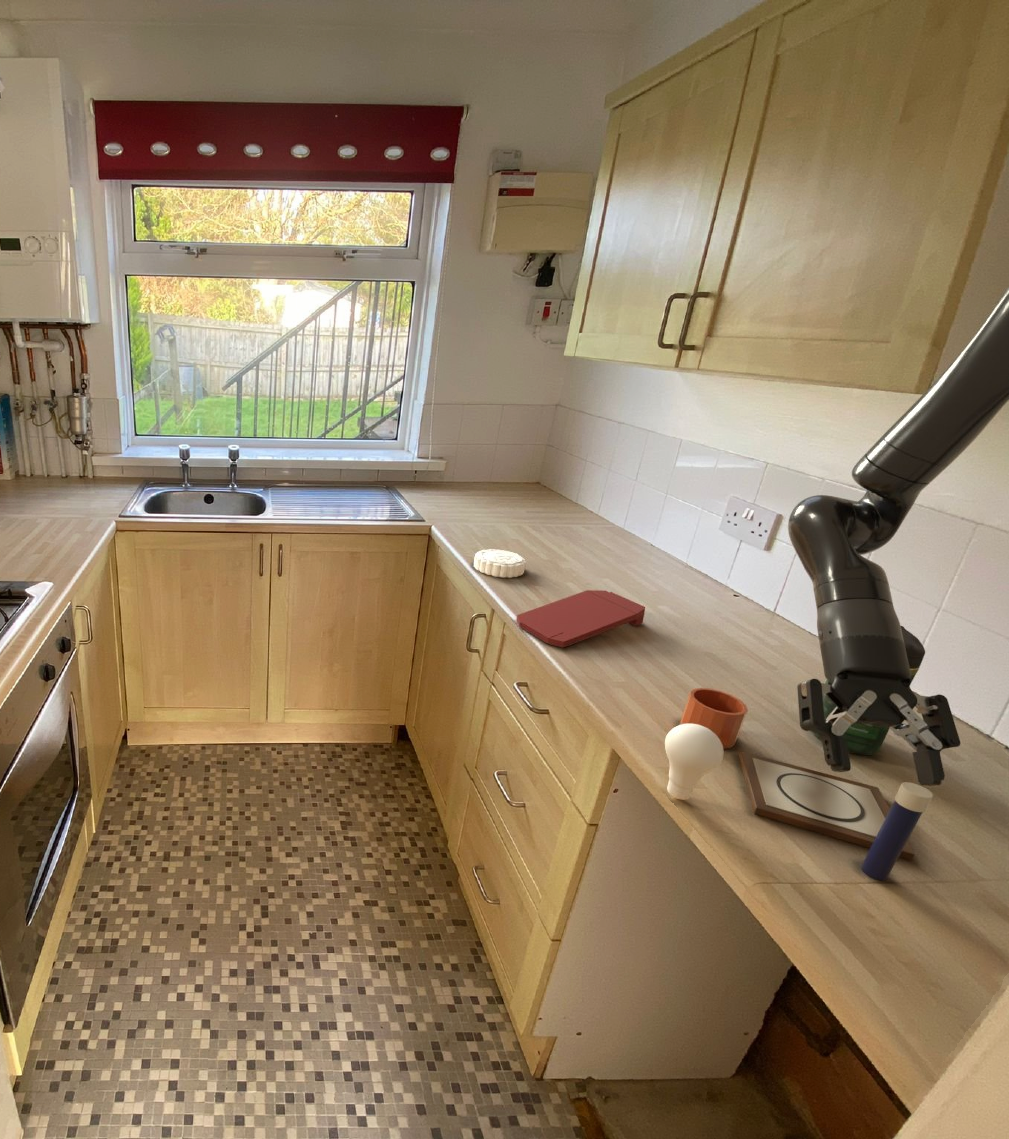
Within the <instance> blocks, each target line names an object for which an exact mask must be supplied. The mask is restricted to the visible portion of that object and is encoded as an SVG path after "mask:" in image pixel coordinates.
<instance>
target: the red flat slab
mask: <svg viewBox="0 0 1009 1139" xmlns="http://www.w3.org/2000/svg"><path fill="white" fill-rule="evenodd" d="M645 610H646V606H644V605H642V604H639V603H637V602H635V601H632V600H630V599H628V598H626V597H624V596H622V595H619V594H617V593H614V592H612V591H607V590H601V589H600V590H599V589H596V590H593V589H592V590H588V589H586V590H583V591H581V592H578V593H576V594H575V593H574V594H572V595H569V596H567V597H564V598H561V599H558V600H556V601H552V602H550V603H547V604H545V605H542V606H538V607H535V608H533V609H531V610H528V611H525V612H522V613H520V614H517V615H516V622H517V625H518V627H519V628H520V629H522V630H523V631H525V632H527V633H529V634H531V635H532V636H534V637H536V638H537V639H539V640H541V641H542V642H544V643H546V644H548V645H550V646H555V647H559V648H566V647H569V646H571V645H574V644H576V643H578V642H581V641H583V640H587V639H589V638H592V637H595V636H597V635H600V634H602V633H605V632H607V631H610V630H612V629H615V628H618V627H621V626H623V625H625V624H628V623H629V624H631V625H632V626H634V627H637V626H639V625H642V624H643V623H644V618H645Z"/></svg>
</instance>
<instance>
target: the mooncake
mask: <svg viewBox="0 0 1009 1139" xmlns="http://www.w3.org/2000/svg"><path fill="white" fill-rule="evenodd" d="M526 565H527V562H526V559H525V558H524V557H523V556H521V555H519V554H518V553H516V552H513V551H510V550H502V549H498V548H494V549H493V548H488V549H482V550H479V551H477V552H476V553H475V555H474V560H473V567H474V568H475V570H477V572H480V573H482V574H485V575H487V576H492V577H494V578H495V577H496V578H497V577H498V578H503V579H504V578H508V579H511V578H518V577H520V576H522V575H523V574H524V573H525V569H526Z"/></svg>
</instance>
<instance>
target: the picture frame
mask: <svg viewBox="0 0 1009 1139" xmlns="http://www.w3.org/2000/svg"><path fill="white" fill-rule="evenodd" d="M738 758H739V762H740V765H741V769H742V774H743V776H744V780H745V783H746V788H747V792H748V795H749V796H748V797H749V800H750V803H751V806H752V811H753V814H754V815H757V816H761V817H764V818H768V819H771V820H775V821H778V822H781V823H784V824H788V825H791V826H795V827H797V828H801V829H804V830H807V831H811V832H814V833H816V834H817V833H818V834H821V835H824V836H827V837H830V838H831V837H832V838H833V839H838V840H840V841H844V842H848V843H852V844H854V845H857V846H861V847H865V848H868V849H870V848H871V846H872V844H873V842H874V840H875V838H876V836H877V834H878V832H879V830H880V828H881V826H882V824H883V822H884V821H885V819H886V817H887V815H888V813H889V811H890V809H891V807H889V805H888V803H887V800H886V799H885V798H884V795H883V794H882V791H881V790H880V788H879V787H878V786H875V785H870V784H866V783H863V782H858V781H854V780H851V779H848V778H844V777H840V776H837V775H832V774H829V773H825V772H822V771H818V770H814V769H811V768H810V769H809V768H806V767H803V766H798V765H796V764H795V765H794V764H791V763H787V762H783V761H780V760H776V759H772V758H768V757H764V756H761V755H757V754H753V753H749V752H747V751H740V752H739V755H738ZM915 855H916V854H915V852H914V851H913V849H912V847H911V844H910V843H909V840H908V841H907V842H906V844H905V846H904V848H903V850H902V852H901V854H900V855H899V857H898V858H901V859H905V860H908V861H913V859H914V857H915Z"/></svg>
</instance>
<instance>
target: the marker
mask: <svg viewBox="0 0 1009 1139" xmlns="http://www.w3.org/2000/svg"><path fill="white" fill-rule="evenodd" d="M933 797H934V794H933V792H932V791H930V790H929V789H928V788H926V787H924V786H923V785H921V784H917V783H915V782H909V781H905V782H902V783H901V784H900V786H899V788H898V790H897V792H896V794H895V796H894V801H893V803H892V805H891V806H890V811H889V813H888V815H887V817H886V819H885V821H884V822H883V824H882V826H881V828H880V830H879V832H878V834H877V836H876V838H875V840H874V842H873V844H872V846H871V848H869V849H868V852H867V853H866V856H865V857H864V860H863V861H862V863H861V865H860V869H861V871H862V872H863V873H864V874H865V875H866V876H868V877H870V878H872V879H875V880H876V881H886V880H887V879H888V878H889V876H890V874H891V872H892V870H893V869H894V867H895V865H896V863H897V862H898V859H899V858H900V857H899V855H900V854H901V852H902V850H903V848H904V846H905V844H906V842H907V841H908V842H909V839H910V837H911V835H912V834H913V831H914V829H915V828H916V825H917V824H918V822H919V821H920V818H921V816H922V815H923V813H924V812H926V811H927V808H928V806H929V804H930V802H931V801H932V799H933Z"/></svg>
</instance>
